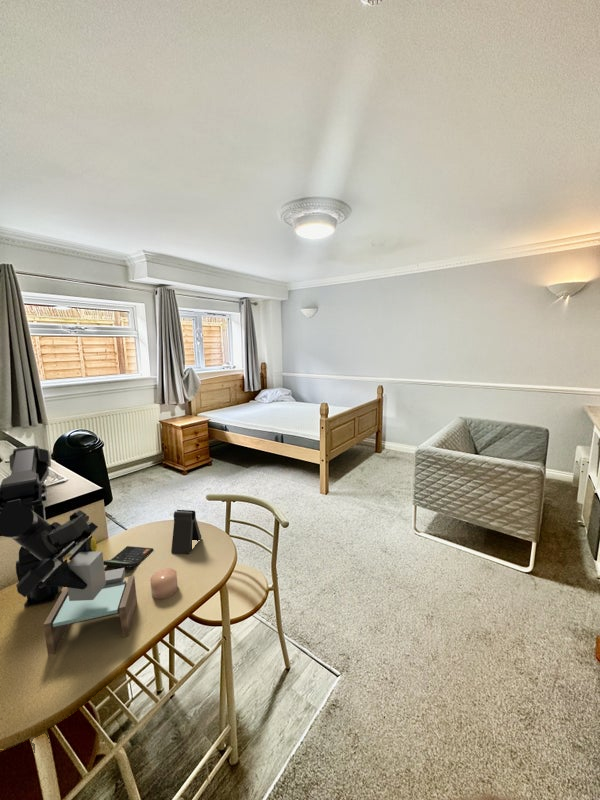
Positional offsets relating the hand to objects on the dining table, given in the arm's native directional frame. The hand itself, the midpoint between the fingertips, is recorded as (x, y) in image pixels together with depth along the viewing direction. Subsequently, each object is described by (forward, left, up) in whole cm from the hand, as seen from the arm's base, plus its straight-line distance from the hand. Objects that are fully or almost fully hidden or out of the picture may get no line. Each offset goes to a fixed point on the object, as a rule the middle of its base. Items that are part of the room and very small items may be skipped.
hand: (93, 578), depth 73 cm
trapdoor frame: (-1, +2, -13) cm, 14 cm away
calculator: (+1, +28, -14) cm, 32 cm away
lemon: (-11, +32, -14) cm, 37 cm away
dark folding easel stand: (+18, +30, -14) cm, 38 cm away
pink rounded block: (+13, +10, -13) cm, 21 cm away
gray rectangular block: (-1, 0, -3) cm, 3 cm away
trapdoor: (-1, +4, -8) cm, 9 cm away
